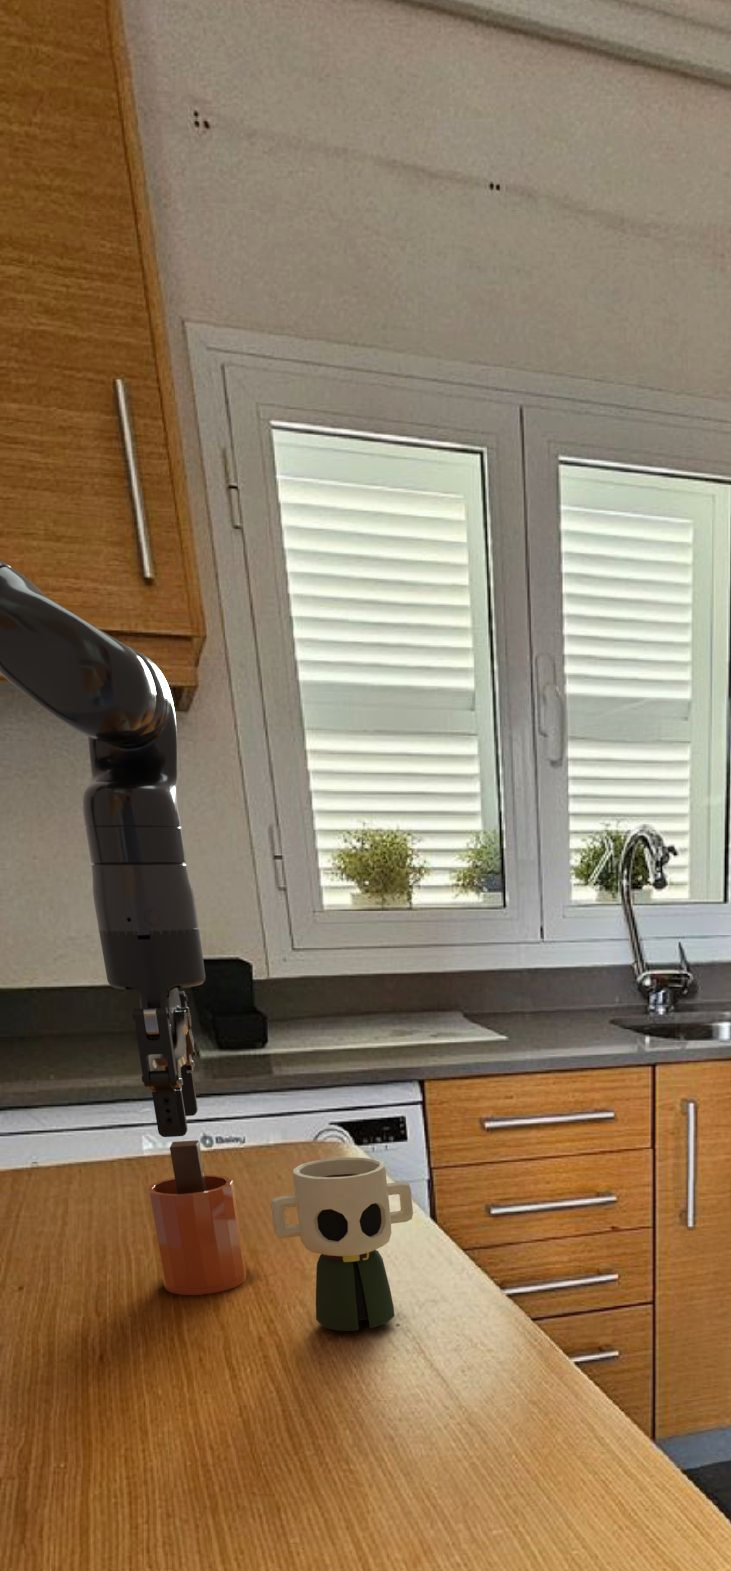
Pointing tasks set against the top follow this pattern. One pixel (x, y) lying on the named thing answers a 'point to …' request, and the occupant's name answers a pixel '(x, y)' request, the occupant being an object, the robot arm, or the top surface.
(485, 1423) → the top surface
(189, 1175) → the stick
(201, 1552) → the top surface
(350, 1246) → the character mug
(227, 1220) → the tumbler
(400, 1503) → the top surface
